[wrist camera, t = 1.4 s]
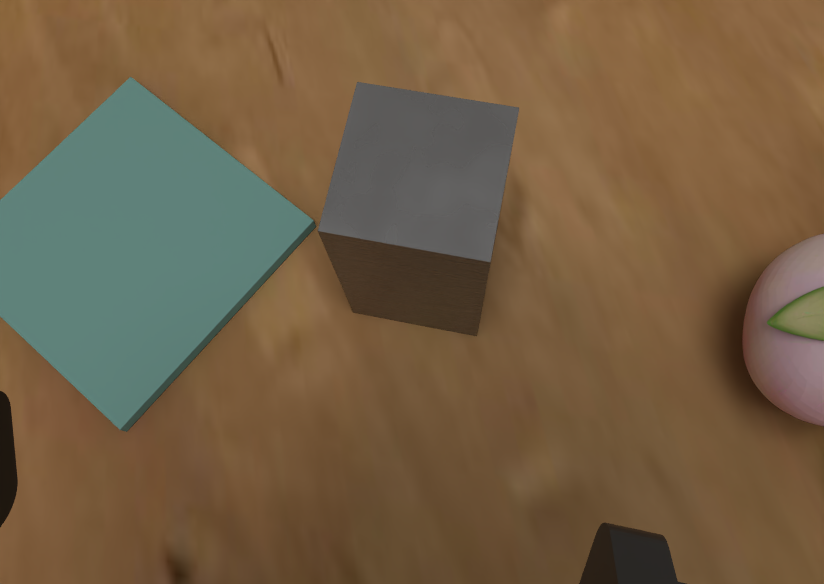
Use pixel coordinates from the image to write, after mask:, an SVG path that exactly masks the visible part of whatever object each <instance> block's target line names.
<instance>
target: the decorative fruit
mask: <svg viewBox="0 0 824 584" xmlns="http://www.w3.org/2000/svg"><path fill="white" fill-rule="evenodd" d="M742 343H743V355H744V360H745V364H746V367H747V370H748V372H749V374H750V376H751V378H752V380H753V382H754V383H755V385H756V386H757V388H758V389H759V390H760V391H761V392H762V394H763V395H764V396H765V397H766V398H767V399H768V400H769V401H770V402H771V403H773V404H774V405H775V406H777V407H778V408H780V409H781V410H782V411H784V412H786V413H788V414H790V415H791V416H793V417H795V418H798V419H800V420H803V421H805V422H808V423H812V424H816V425H820V426H824V234H820V235H817V236H813V237H810V238H808V239H806V240H804V241H802V242H800V243H798V244H796V245H794V246H792V247H790V248H789V249H787V250H786V251H784V252H783V253H781V254H780V255H779V256H778V257H776V258H775V259H774V260H773V261H772V262H771V263H770V264H769V265H768V266H767V267H766V269H765V270H764V271H763V272H762V274H761V275H760V277H759V279H758V280H757V282H756V284H755V286H754V288H753V290H752V292H751V295H750V297H749V301H748V304H747V308H746V313H745V318H744V324H743V341H742Z"/></svg>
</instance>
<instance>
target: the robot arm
mask: <svg viewBox="0 0 824 584" xmlns="http://www.w3.org/2000/svg"><path fill="white" fill-rule="evenodd" d="M17 484H18V483H17V469H16V459H15V448H14V437H13V426H12V416H11V406H10V402H9V399H8V397H7V396H6V394H5V393H3V392H2V391H0V527H1V525H2V524H3V523H4V521H5V520H6V518H7V516H8V514H9V512H10V510H11V508H12V506H13V503H14V500H15V497H16V492H17ZM579 584H685V583H681V582H678V581H677V578H676V574H675V570H674V566H673V562H672V558H671V554H670V551H669V547H668V544H667V541H666V539H665V537H664V536H663V535H660V534H656V533H651V532H646V531H642V530H637V529H632V528H628V527H623V526H618V525H614V524H609V523H602V524H601V525H600V527H599V529H598V531H597V533H596V536H595V539H594V542H593V545H592V548H591V551H590V554H589V557H588V560H587V563H586V566H585V568H584V571H583V574H582V577H581V580H580V583H579Z"/></svg>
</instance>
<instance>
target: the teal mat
mask: <svg viewBox="0 0 824 584" xmlns="http://www.w3.org/2000/svg"><path fill="white" fill-rule="evenodd" d="M315 227H316V225H315V223H314V220H312V219H311V218H310V217H308V216H307V215H306V214H305V213H303V212H302V211H301V210H300V209H298V208H297V207H296V206H294V205H293V204H292V203H291V202H289V201H288V200H287V199H286V198H284V197H283V196H282V195H280V194H279V193H278V192H277V191H275V190H274V189H273V188H272V187H270V186H269V185H268V184H266V183H265V182H264V181H263V180H261V179H260V178H259V177H258V176H256V175H255V174H254V173H252V172H251V171H250V170H249V169H247V168H246V167H245V166H244V165H242V164H241V163H240V162H238V161H237V160H236V159H235V158H233V157H232V156H231V155H230V154H228V153H227V152H226V151H224V150H223V149H222V148H221V147H219V146H218V145H217V144H216V143H214V142H213V141H212V140H210V139H209V138H208V137H207V136H205V135H204V134H203V133H202V132H200V131H199V130H198V129H196V128H195V127H194V126H193V125H191V124H190V123H189V122H188V121H186V120H185V119H184V118H182V117H181V116H180V115H179V114H177V113H176V112H175V111H174V110H172V109H171V108H170V107H168V106H167V105H166V104H165V103H163V102H162V101H161V100H160V99H158V98H157V97H156V96H154V95H153V94H152V93H151V92H149V91H148V90H147V89H146V88H144V87H143V86H142V85H140V84H139V83H138V82H137V81H135V80H134V79H133V78H132V77H130V78H129V79H128V80H127V81H126V82H125V83H124V84H123V85H122V86H121V87H119V88H118V89H117V90H116V91H115V92H114V93H113V94H112V95H111V96H110V97H109V98H108V99H107V100H106V101H105V102H104V103H103V104H102V105H100V106H99V107H98V108H97V109H96V110H95V111H94V112H93V113H92V114H91V115H90V116H89V117H88V118H87V119H86V120H85V121H84V122H82V123H81V124H80V125H79V126H78V127H77V128H76V129H75V130H74V131H73V132H72V133H71V134H70V135H69V136H68V137H67V138H66V139H65V140H63V141H62V142H61V143H60V144H59V145H58V146H57V147H56V148H55V149H54V150H53V151H52V152H51V153H50V154H49V155H48V156H47V157H45V158H44V159H43V160H42V161H41V162H40V163H39V164H38V165H37V166H36V167H35V168H34V169H33V170H32V171H31V172H30V173H29V174H28V175H26V176H25V177H24V178H23V179H22V180H21V181H20V182H19V183H18V184H17V185H16V186H15V187H14V188H13V189H12V190H11V191H10V192H9V193H7V194H6V195H5V196H4V197H3V198H2V199H1V200H0V316H1V317H2V318H3V319H4V320H5V321H6V322H7V323H8V324H9V325H10V326H11V327H12V328H13V329H14V330H15V331H16V332H17V333H18V334H20V335H21V336H22V337H23V338H24V339H25V340H26V341H27V342H28V343H29V344H30V345H31V346H32V347H33V348H34V349H35V350H36V351H37V352H38V353H40V354H41V355H42V356H43V357H44V358H45V359H46V360H47V361H48V362H49V363H50V364H51V365H52V366H53V367H54V368H55V369H56V370H57V371H59V372H60V373H61V374H62V375H63V376H64V377H65V378H66V379H67V380H68V381H69V382H70V383H71V384H72V385H73V386H74V387H75V388H76V389H77V390H79V391H80V392H81V393H82V394H83V395H84V396H85V397H86V398H87V399H88V400H89V401H90V402H91V403H92V404H93V405H94V406H95V407H96V408H98V409H99V410H100V411H101V412H102V413H103V414H104V415H105V416H106V417H107V418H108V419H109V420H110V421H111V422H112V423H113V424H114V425H115V426H117V427H118V428H119V429H120V430H123V431H126V432H127V431H128V430H129V429H130V428H131V427H132V425H133V424H134V423H135V422H136V421H137V420H138V419H139V418H140V417H141V416H142V415H143V414H144V412H145V411H146V410H147V409H148V408H149V407H150V406H151V405H152V404H153V403H154V402H155V401H156V399H157V398H158V397H159V396H160V395H161V394H162V393H163V392H164V391H165V390H166V389H167V388H168V386H169V385H170V384H171V383H172V382H173V381H174V380H175V379H176V378H177V377H178V376H179V375H180V373H181V372H182V371H183V370H184V369H185V368H186V367H187V366H188V365H189V364H190V363H191V361H192V360H193V359H194V358H195V357H196V356H197V355H198V354H199V353H200V352H201V351H202V350H203V348H204V347H205V346H206V345H207V344H208V343H209V342H210V341H211V340H212V339H213V338H214V337H215V335H216V334H217V333H218V332H219V331H220V330H221V329H222V328H223V327H224V326H225V325H226V324H227V322H228V321H229V320H230V319H231V318H232V317H233V316H234V315H235V314H236V313H237V312H238V311H239V309H240V308H241V307H242V306H243V305H244V304H245V303H246V302H247V301H248V300H249V299H250V298H251V296H252V295H253V294H254V293H255V292H256V291H257V290H258V289H259V288H260V287H261V286H262V285H263V283H264V282H265V281H266V280H267V279H268V278H269V277H270V276H271V275H272V274H273V273H274V272H275V270H276V269H277V268H278V267H279V266H280V265H281V264H282V263H283V262H284V261H285V260H286V259H287V257H288V256H289V255H290V254H291V253H292V252H293V251H294V250H295V249H296V248H297V247H298V246H299V244H300V243H301V242H302V241H303V240H304V239H305V238H306V237H307V236H308V235H309V234H310V233H311V231H312V230H313V229H314V228H315Z"/></svg>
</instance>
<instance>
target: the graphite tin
mask: <svg viewBox="0 0 824 584" xmlns="http://www.w3.org/2000/svg"><path fill="white" fill-rule="evenodd" d="M518 112H519V108H518V107H512V106H505V105H499V104H493V103H486V102H480V101H474V100H467V99H461V98H455V97H449V96H442V95H436V94H430V93H423V92H417V91H411V90H405V89H398V88H392V87H386V86H379V85H373V84H367V83H361V82H357V85H356V89H355V92H354V96H353V100H352V104H351V107H350V111H349V115H348V119H347V123H346V126H345V130H344V134H343V138H342V142H341V145H340V149H339V153H338V157H337V160H336V164H335V168H334V172H333V176H332V179H331V183H330V187H329V191H328V194H327V198H326V202H325V206H324V210H323V213H322V217H321V221H320V225H319V229H318V232H319V235H320V237H321V239H322V242H323V244H324V246H325V249H326V251H327V253H328V255H329V258H330V260H331V262H332V265H333V267H334V269H335V272H336V274H337V276H338V278H339V281H340V283H341V285H342V288H343V290H344V292H345V295H346V297H347V299H348V301H349V304H350V306H351V308H352V311H353V312H354V313H359V314H364V315H369V316H374V317H380V318H385V319H390V320H395V321H401V322H406V323H411V324H416V325H421V326H427V327H432V328H437V329H442V330H447V331H453V332H458V333H463V334H468V335H474V336H477V332H478V327H479V321H480V316H481V311H482V305H483V300H484V295H485V289H486V284H487V279H488V273H489V268H490V263H491V257H492V252H493V247H494V241H495V236H496V231H497V225H498V220H499V215H500V209H501V204H502V198H503V193H504V188H505V182H506V177H507V171H508V166H509V161H510V155H511V150H512V144H513V139H514V134H515V128H516V123H517V117H518Z"/></svg>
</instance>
